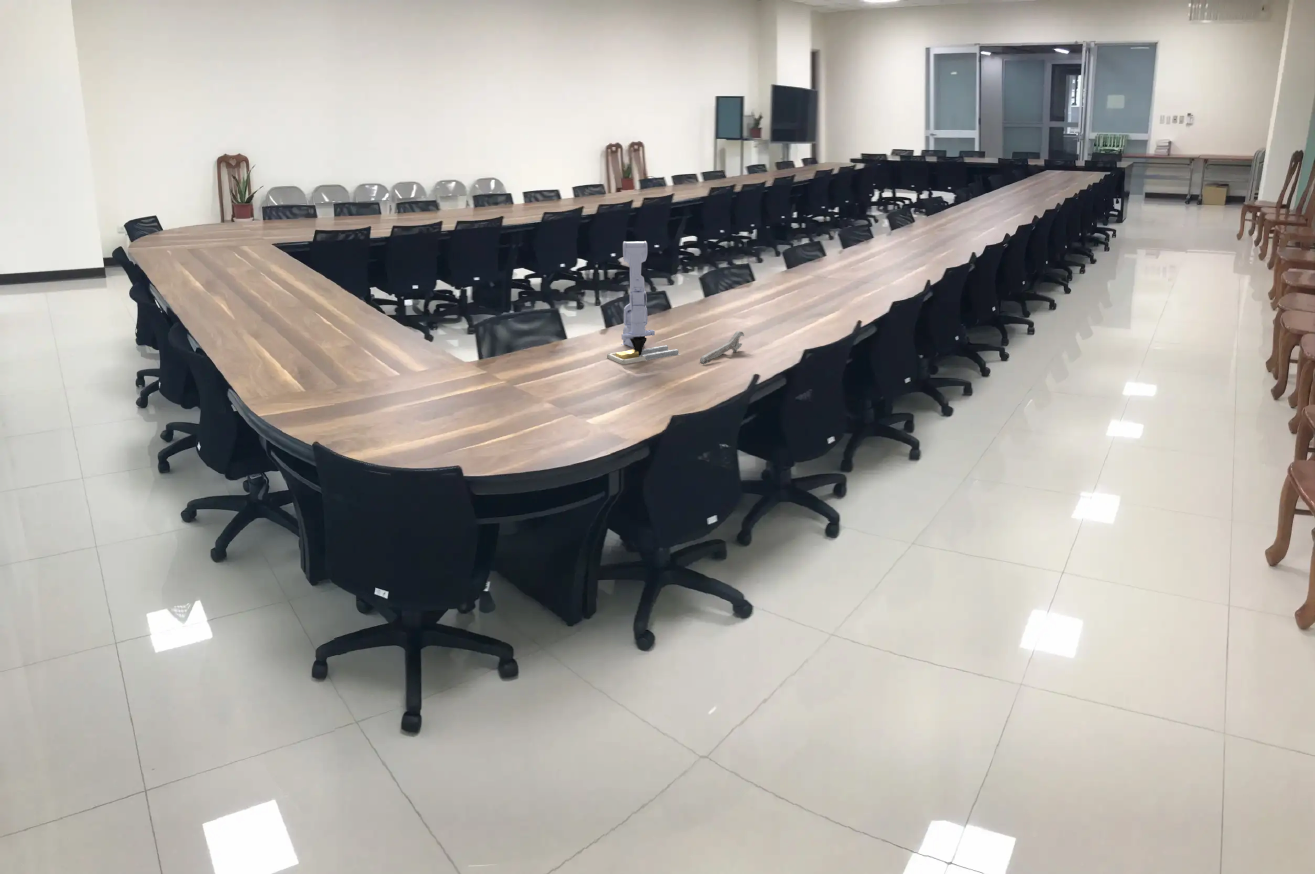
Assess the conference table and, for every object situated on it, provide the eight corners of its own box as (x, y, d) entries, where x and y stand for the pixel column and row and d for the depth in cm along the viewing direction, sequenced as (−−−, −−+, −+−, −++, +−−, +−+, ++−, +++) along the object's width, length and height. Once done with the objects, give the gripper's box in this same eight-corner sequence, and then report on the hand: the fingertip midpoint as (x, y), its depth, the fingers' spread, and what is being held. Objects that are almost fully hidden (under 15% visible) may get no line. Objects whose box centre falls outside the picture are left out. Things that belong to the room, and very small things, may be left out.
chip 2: (625, 358, 365) (624, 351, 364) (633, 356, 367) (633, 349, 366) (630, 361, 362) (629, 353, 360) (639, 358, 364) (638, 351, 362)
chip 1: (616, 360, 363) (616, 353, 362) (624, 358, 365) (624, 351, 364) (621, 362, 359) (621, 355, 358) (630, 361, 362) (629, 353, 360)
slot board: (629, 356, 370) (629, 350, 370) (664, 350, 379) (664, 344, 378) (645, 362, 361) (645, 356, 360) (680, 356, 370) (680, 350, 369)
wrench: (700, 370, 361) (741, 347, 382) (704, 371, 360) (744, 347, 381) (699, 351, 358) (740, 329, 379) (703, 352, 357) (744, 329, 378)
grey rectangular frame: (607, 360, 365) (607, 354, 364) (629, 356, 370) (629, 350, 370) (622, 366, 356) (622, 360, 355) (645, 362, 361) (645, 356, 360)
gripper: (627, 326, 354) (628, 359, 358) (658, 321, 361) (658, 354, 366) (618, 322, 359) (619, 355, 364) (649, 318, 367) (649, 350, 371)
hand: (638, 355), depth 365 cm, fingers closed
